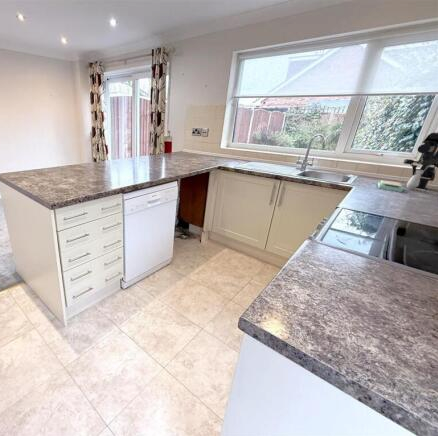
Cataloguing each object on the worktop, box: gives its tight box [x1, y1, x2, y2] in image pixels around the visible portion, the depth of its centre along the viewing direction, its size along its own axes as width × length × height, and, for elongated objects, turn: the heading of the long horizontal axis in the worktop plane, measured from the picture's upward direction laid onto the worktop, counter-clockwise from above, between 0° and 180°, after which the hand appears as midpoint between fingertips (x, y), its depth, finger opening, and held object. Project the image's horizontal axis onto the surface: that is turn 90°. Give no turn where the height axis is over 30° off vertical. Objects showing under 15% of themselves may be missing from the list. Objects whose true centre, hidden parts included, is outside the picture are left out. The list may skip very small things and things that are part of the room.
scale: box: [377, 180, 404, 193], centre depth 172 cm, size 14×12×3 cm
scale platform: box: [380, 179, 403, 187], centre depth 173 cm, size 11×10×1 cm
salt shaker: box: [406, 168, 424, 190], centre depth 170 cm, size 6×6×13 cm
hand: (417, 175), depth 169 cm, fingers closed on salt shaker, 4 cm apart
